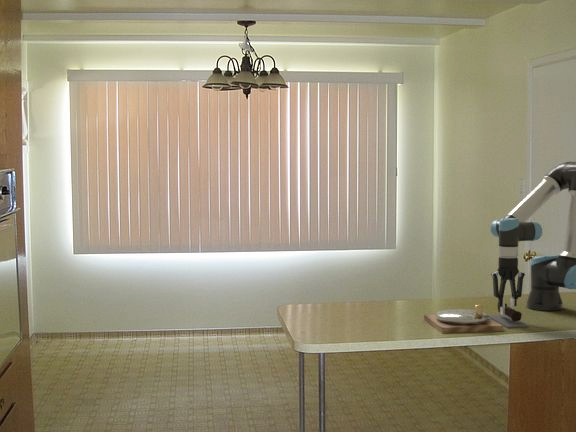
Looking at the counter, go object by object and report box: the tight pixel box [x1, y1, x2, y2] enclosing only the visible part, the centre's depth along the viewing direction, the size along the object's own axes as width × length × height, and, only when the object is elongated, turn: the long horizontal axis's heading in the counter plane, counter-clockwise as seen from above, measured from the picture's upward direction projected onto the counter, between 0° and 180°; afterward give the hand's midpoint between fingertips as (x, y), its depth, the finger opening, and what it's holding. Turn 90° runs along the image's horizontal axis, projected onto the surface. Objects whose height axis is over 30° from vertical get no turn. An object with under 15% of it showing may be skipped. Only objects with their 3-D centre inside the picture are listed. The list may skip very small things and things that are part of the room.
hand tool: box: [497, 302, 523, 321], centre depth 305 cm, size 19×4×5 cm, turn 4°
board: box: [423, 313, 504, 334], centre depth 300 cm, size 24×24×2 cm
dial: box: [436, 304, 489, 325], centre depth 299 cm, size 20×20×7 cm
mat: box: [488, 314, 530, 329], centre depth 305 cm, size 9×22×1 cm, turn 6°
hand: (507, 314), depth 305 cm, fingers closed on hand tool, 3 cm apart
